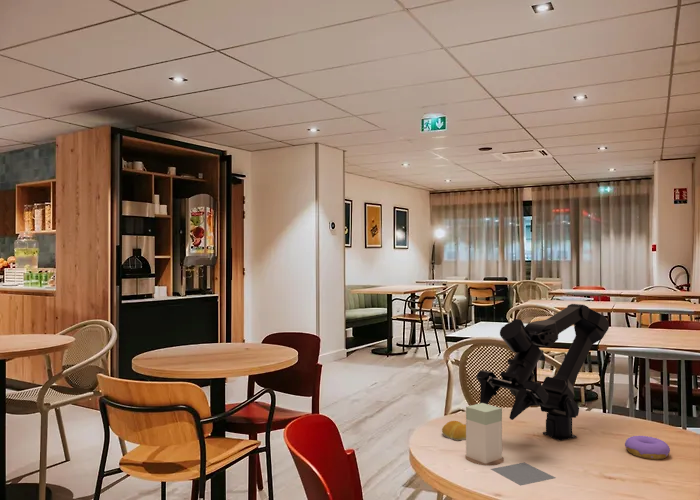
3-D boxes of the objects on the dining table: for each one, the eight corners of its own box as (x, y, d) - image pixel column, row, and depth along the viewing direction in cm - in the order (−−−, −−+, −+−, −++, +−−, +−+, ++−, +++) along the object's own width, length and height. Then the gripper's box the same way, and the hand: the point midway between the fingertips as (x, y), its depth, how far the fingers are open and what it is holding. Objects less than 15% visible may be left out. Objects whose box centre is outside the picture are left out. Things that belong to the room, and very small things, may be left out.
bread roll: (463, 444, 146) (463, 429, 146) (437, 436, 153) (437, 421, 153) (482, 437, 151) (482, 422, 151) (456, 429, 158) (456, 415, 158)
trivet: (487, 451, 140) (487, 448, 140) (511, 463, 132) (511, 460, 132) (458, 456, 136) (458, 454, 136) (481, 469, 128) (481, 466, 128)
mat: (524, 464, 132) (524, 462, 132) (556, 479, 122) (556, 477, 122) (490, 470, 127) (490, 468, 127) (520, 487, 118) (520, 485, 118)
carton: (482, 451, 139) (482, 402, 139) (501, 458, 134) (501, 408, 134) (466, 456, 135) (466, 406, 135) (485, 463, 130) (485, 412, 130)
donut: (669, 449, 141) (669, 432, 140) (670, 469, 133) (670, 451, 132) (625, 443, 146) (625, 426, 145) (624, 462, 138) (624, 444, 137)
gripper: (569, 389, 139) (542, 443, 132) (508, 376, 154) (481, 423, 148) (549, 362, 134) (521, 416, 128) (489, 351, 149) (461, 398, 143)
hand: (495, 414), depth 137 cm, fingers open, 9 cm apart
